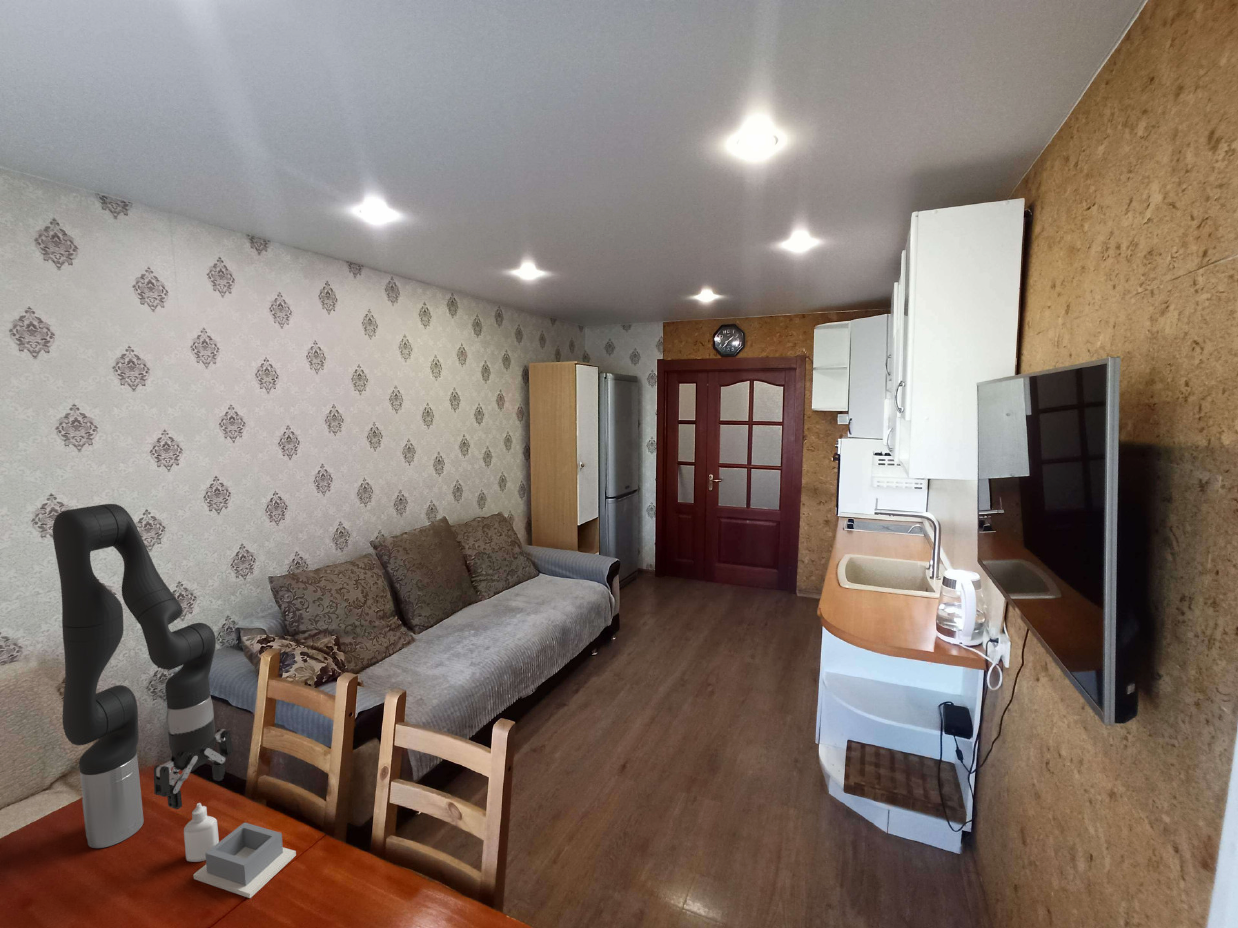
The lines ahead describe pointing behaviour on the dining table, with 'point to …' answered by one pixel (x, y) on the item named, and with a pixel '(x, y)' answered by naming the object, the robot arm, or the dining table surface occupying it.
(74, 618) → the robot arm
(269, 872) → the socket
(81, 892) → the dining table surface
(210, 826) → the eye dropper bottle
